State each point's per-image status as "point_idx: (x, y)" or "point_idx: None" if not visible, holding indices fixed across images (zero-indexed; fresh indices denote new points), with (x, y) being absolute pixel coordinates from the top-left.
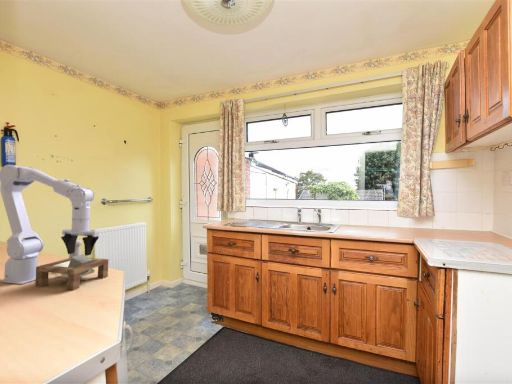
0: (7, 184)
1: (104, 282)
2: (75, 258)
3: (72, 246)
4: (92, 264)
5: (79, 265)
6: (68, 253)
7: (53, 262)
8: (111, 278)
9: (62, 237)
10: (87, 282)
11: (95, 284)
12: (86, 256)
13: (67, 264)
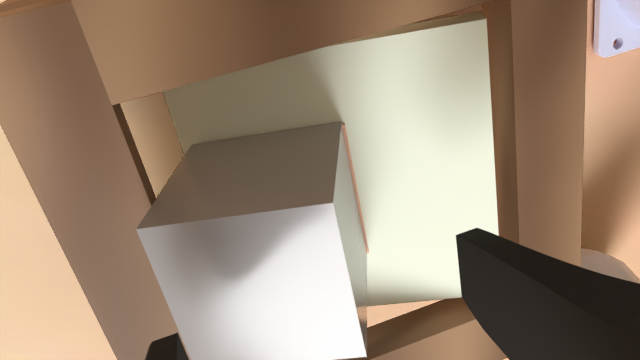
0: None
1: (16, 269)
2: (282, 225)
3: (530, 344)
4: (93, 309)
5: (179, 198)
6: (475, 233)
7: (576, 99)
8: (83, 348)
9: None
10: (155, 187)
11: (27, 199)
12: (295, 357)
13: (437, 178)
